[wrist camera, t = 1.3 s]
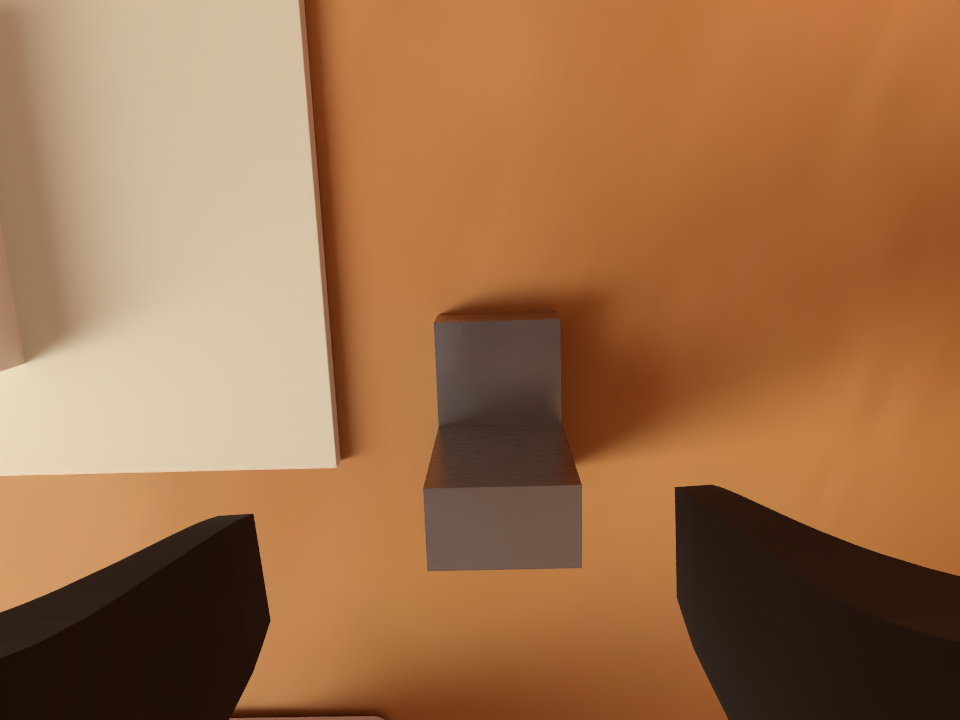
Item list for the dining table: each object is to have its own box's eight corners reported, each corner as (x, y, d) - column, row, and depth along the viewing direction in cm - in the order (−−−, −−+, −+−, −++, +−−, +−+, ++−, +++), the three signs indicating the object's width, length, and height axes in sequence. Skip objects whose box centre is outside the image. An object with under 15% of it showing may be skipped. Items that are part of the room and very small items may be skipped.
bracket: (557, 470, 21) (581, 567, 15) (445, 472, 21) (427, 570, 16) (555, 311, 20) (581, 351, 14) (438, 315, 20) (416, 356, 14)
